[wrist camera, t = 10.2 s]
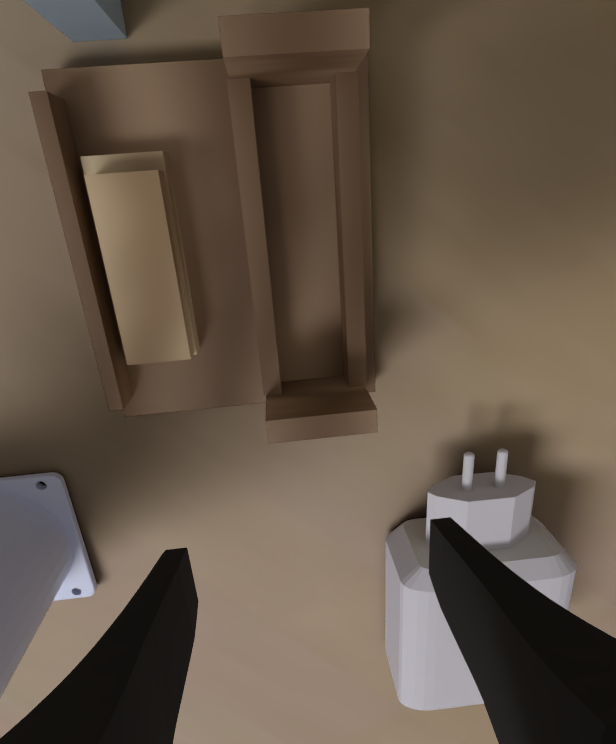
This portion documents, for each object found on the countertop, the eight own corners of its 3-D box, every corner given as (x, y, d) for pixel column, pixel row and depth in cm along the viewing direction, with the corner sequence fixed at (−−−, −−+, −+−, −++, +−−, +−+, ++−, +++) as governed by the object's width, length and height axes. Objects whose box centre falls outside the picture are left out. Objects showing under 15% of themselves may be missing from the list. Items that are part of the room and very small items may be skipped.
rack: (130, 407, 22) (94, 461, 18) (53, 77, 17) (-27, 29, 13) (370, 383, 23) (397, 430, 18) (362, 57, 18) (396, 6, 13)
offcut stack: (132, 354, 20) (120, 368, 19) (88, 158, 17) (70, 154, 16) (199, 348, 20) (193, 361, 19) (167, 153, 18) (156, 147, 16)
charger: (547, 420, 25) (518, 621, 30) (382, 435, 24) (382, 638, 30) (608, 467, 20) (561, 694, 26) (407, 487, 20) (402, 714, 25)
